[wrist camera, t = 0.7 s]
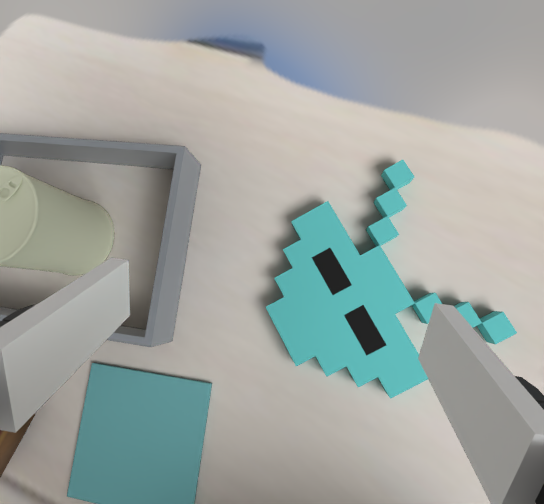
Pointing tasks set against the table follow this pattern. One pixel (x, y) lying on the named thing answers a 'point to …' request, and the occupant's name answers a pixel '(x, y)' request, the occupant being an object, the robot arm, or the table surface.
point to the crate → (175, 220)
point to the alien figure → (358, 299)
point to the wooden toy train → (10, 444)
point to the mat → (139, 438)
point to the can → (50, 227)
